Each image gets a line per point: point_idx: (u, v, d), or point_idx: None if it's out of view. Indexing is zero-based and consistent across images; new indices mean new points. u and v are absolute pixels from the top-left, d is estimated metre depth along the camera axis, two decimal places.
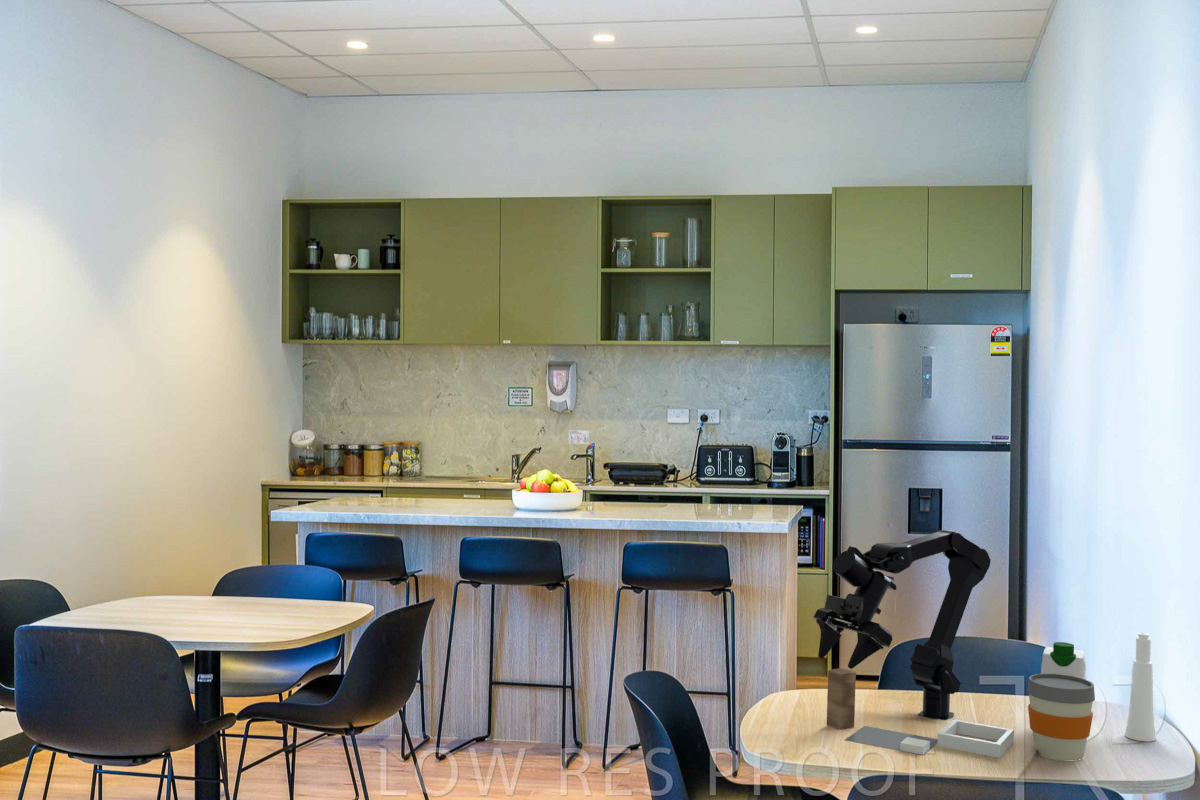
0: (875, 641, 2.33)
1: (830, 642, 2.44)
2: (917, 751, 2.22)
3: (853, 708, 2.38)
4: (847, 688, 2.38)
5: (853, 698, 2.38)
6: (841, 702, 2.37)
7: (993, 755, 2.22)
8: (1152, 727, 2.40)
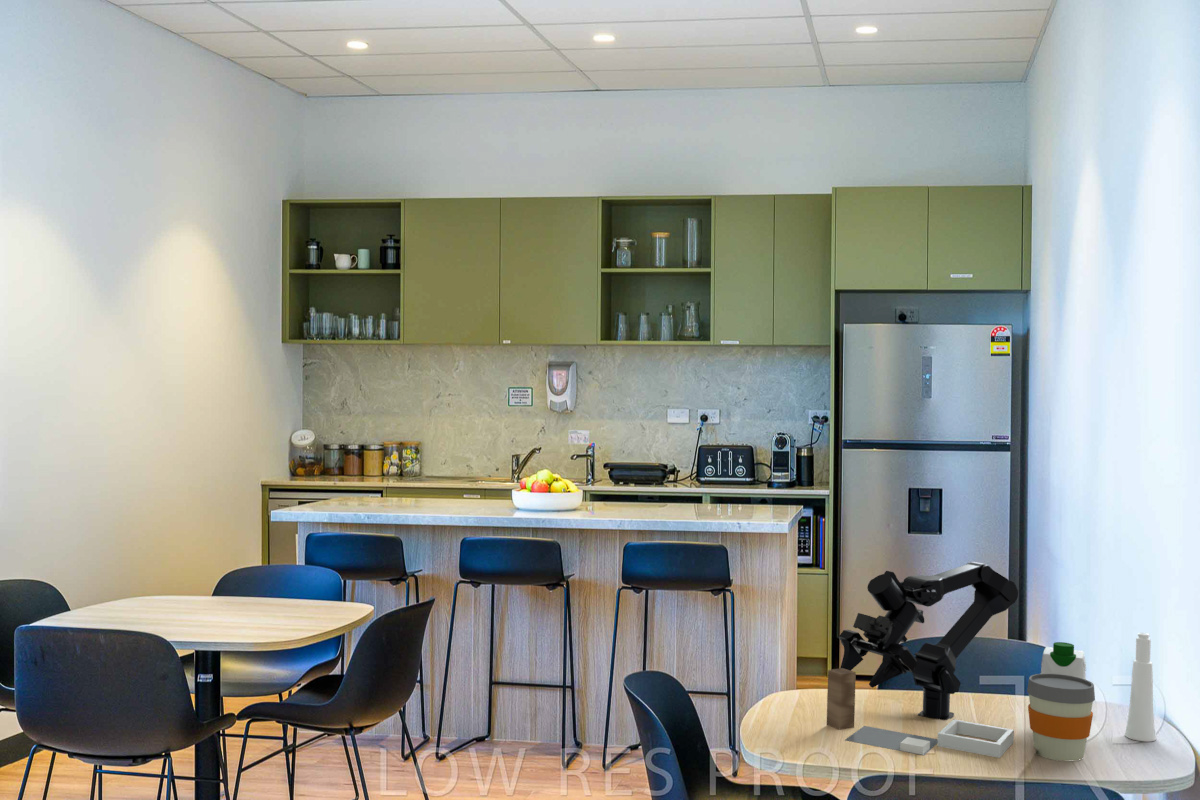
0: (900, 663, 2.37)
1: (852, 663, 2.47)
2: (917, 751, 2.22)
3: (853, 708, 2.38)
4: (847, 688, 2.38)
5: (853, 698, 2.38)
6: (841, 702, 2.37)
7: (993, 755, 2.22)
8: (1152, 727, 2.40)
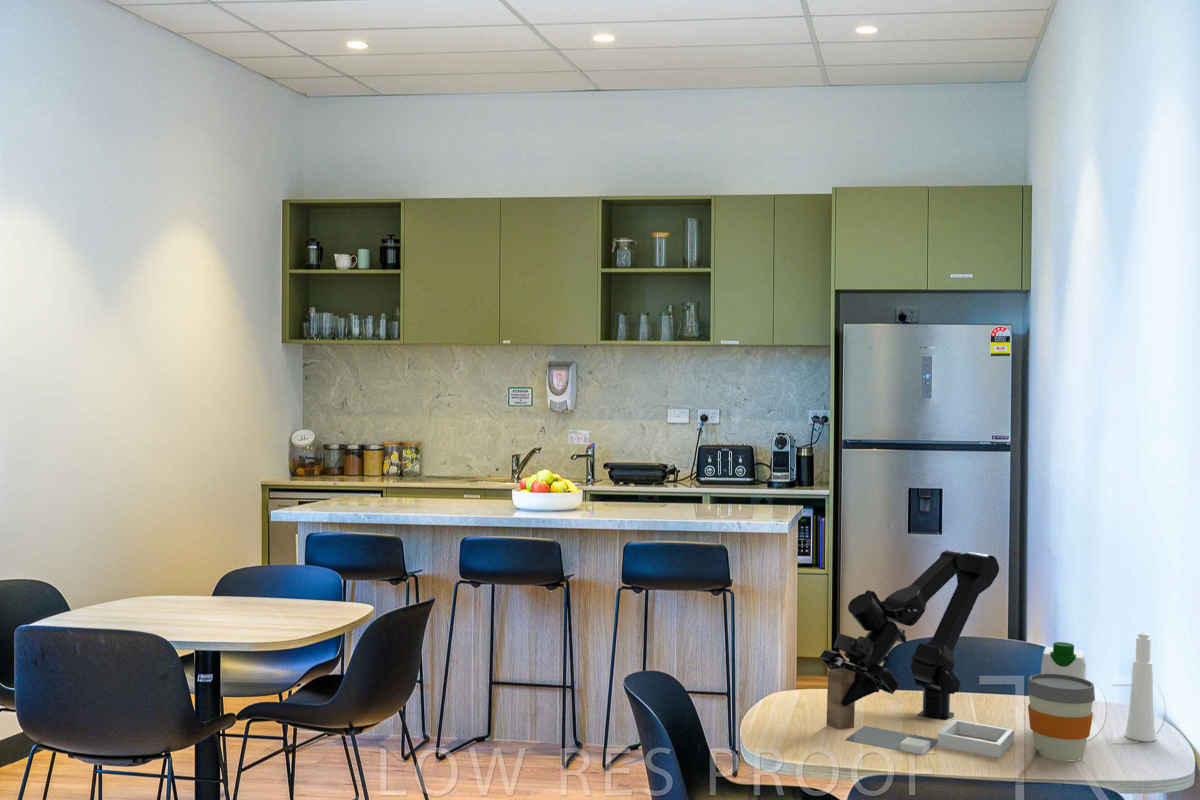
0: (872, 682, 2.36)
1: None
2: (917, 751, 2.22)
3: (853, 708, 2.38)
4: (847, 688, 2.38)
5: None
6: (841, 702, 2.37)
7: (993, 755, 2.22)
8: (1152, 727, 2.40)
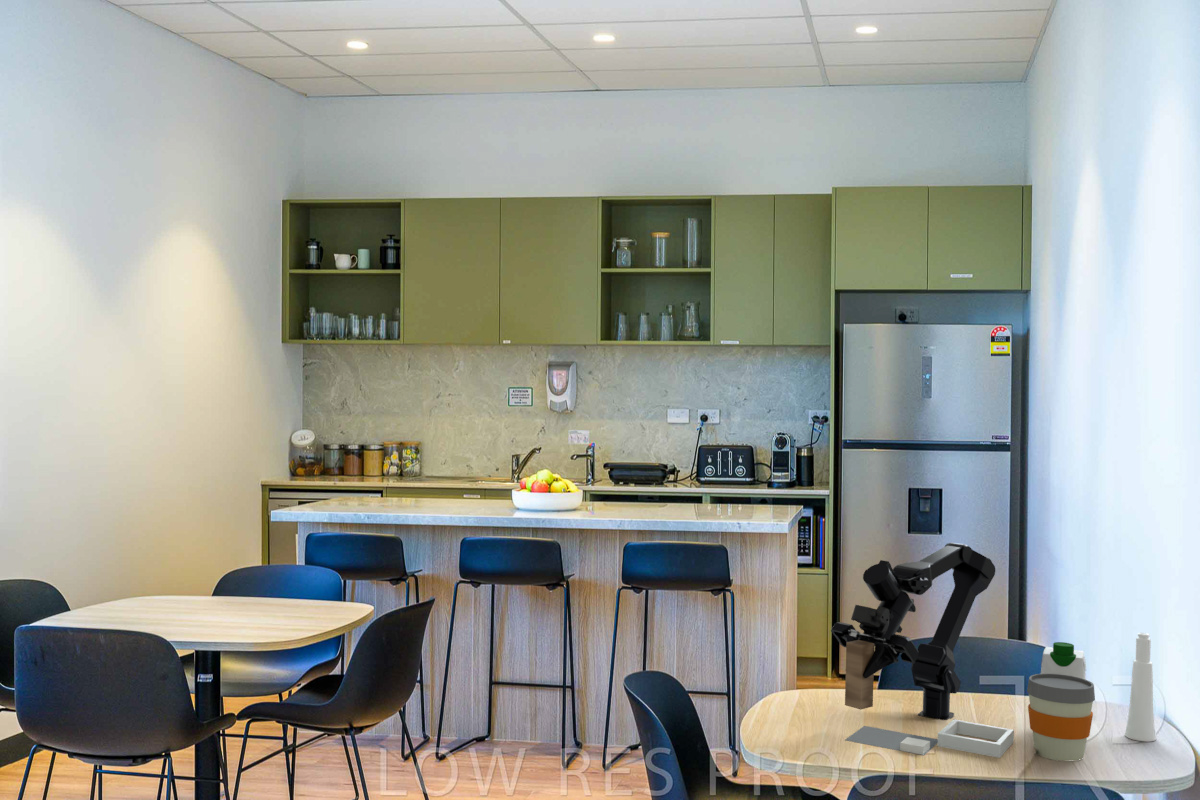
0: (892, 652, 2.33)
1: None
2: (917, 751, 2.22)
3: (872, 680, 2.35)
4: (867, 660, 2.34)
5: None
6: (862, 674, 2.33)
7: (993, 755, 2.22)
8: (1152, 727, 2.40)
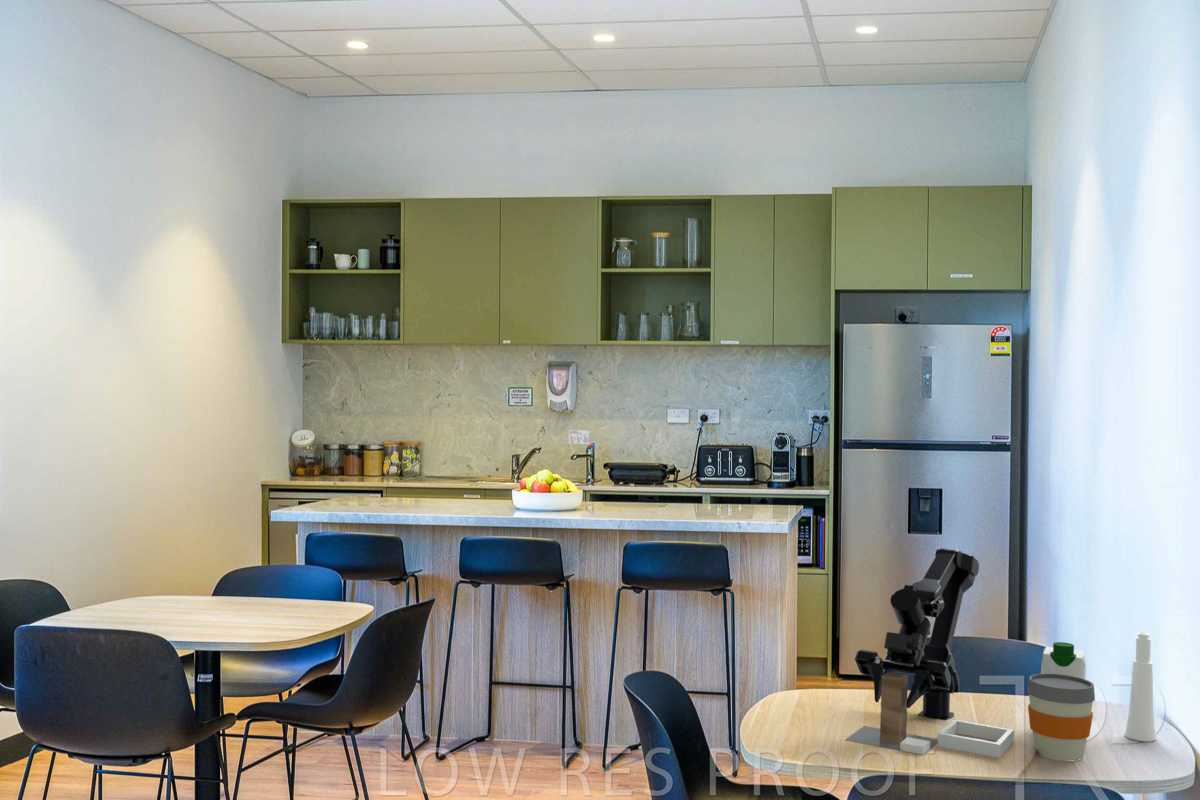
0: (932, 680, 2.30)
1: (881, 686, 2.34)
2: (917, 751, 2.22)
3: (906, 712, 2.31)
4: (904, 693, 2.29)
5: (906, 702, 2.31)
6: (901, 708, 2.28)
7: (993, 755, 2.22)
8: (1152, 727, 2.40)
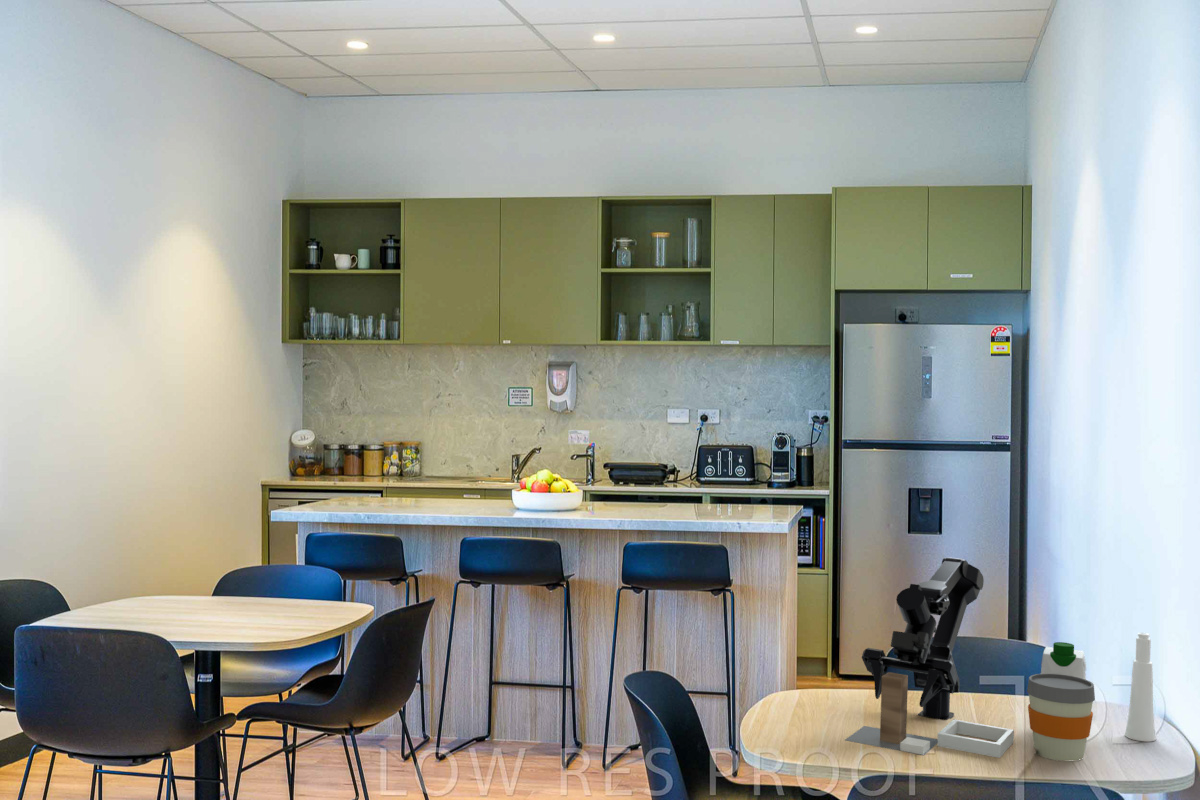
0: (945, 679, 2.32)
1: None
2: (917, 751, 2.22)
3: (906, 712, 2.31)
4: (904, 693, 2.29)
5: (906, 702, 2.31)
6: (901, 708, 2.28)
7: (993, 755, 2.22)
8: (1152, 727, 2.40)
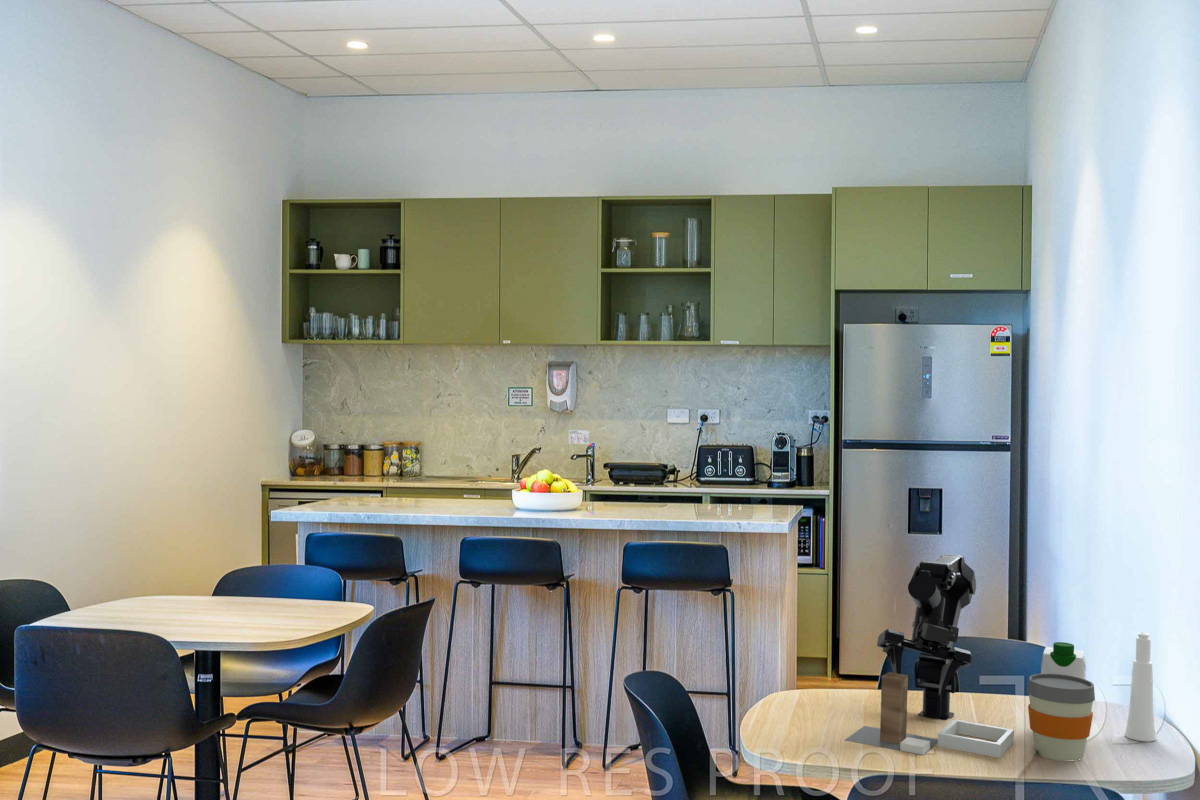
0: None
1: None
2: (917, 751, 2.22)
3: (906, 712, 2.31)
4: (904, 693, 2.29)
5: (906, 702, 2.31)
6: (901, 708, 2.28)
7: (993, 755, 2.22)
8: (1152, 727, 2.40)
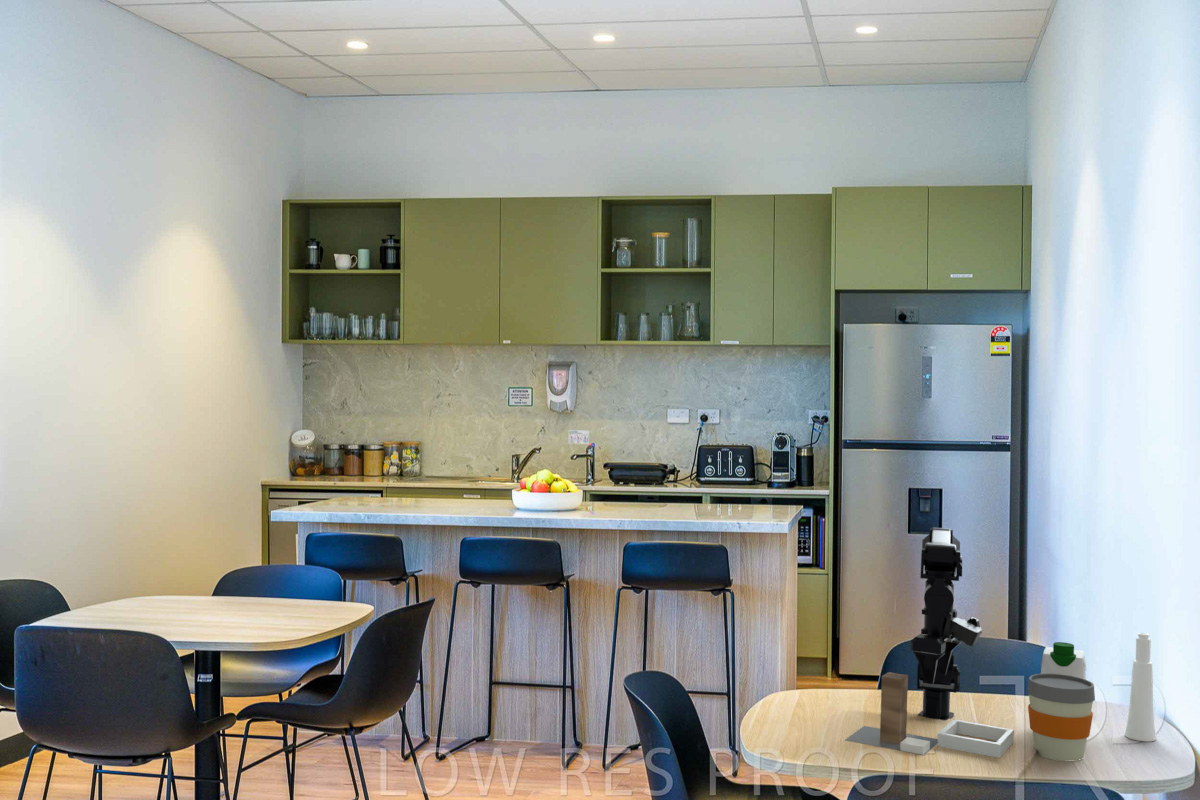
0: None
1: None
2: (917, 751, 2.22)
3: (906, 712, 2.31)
4: (904, 693, 2.29)
5: (906, 702, 2.31)
6: (901, 708, 2.28)
7: (993, 755, 2.22)
8: (1152, 727, 2.40)
